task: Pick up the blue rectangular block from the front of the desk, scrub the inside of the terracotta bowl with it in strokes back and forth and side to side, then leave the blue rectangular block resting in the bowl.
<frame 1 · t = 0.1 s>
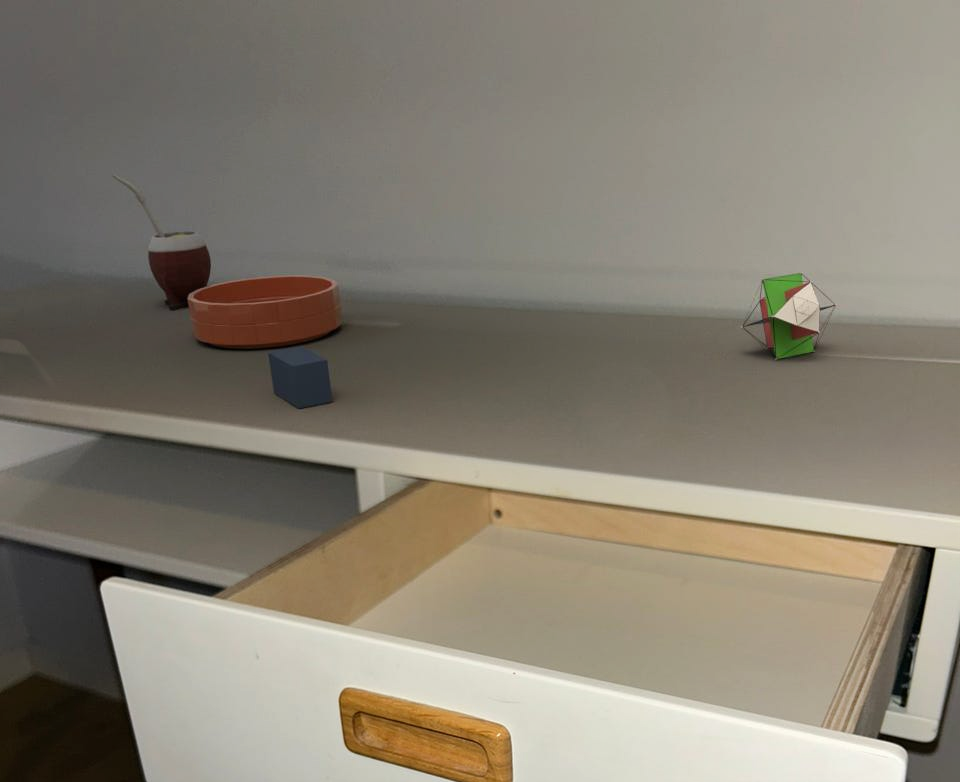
mate gourd: (184, 306, 129), on the table
bowl: (269, 333, 112), on the table
geometric puzzle: (785, 356, 93), on the table
blue rectangular block: (302, 397, 89), on the table
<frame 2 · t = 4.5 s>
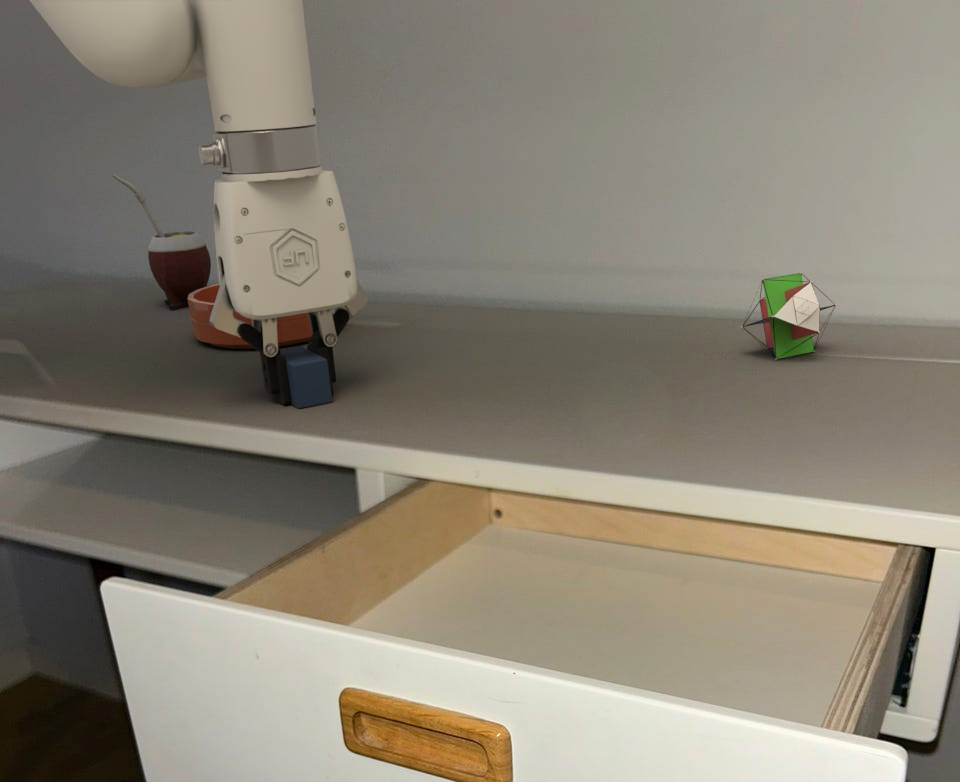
hand: (302, 395, 89), 0 cm above the table, tool pointing down, fingers closed on blue rectangular block, 3 cm apart
blue rectangular block: (302, 397, 89), on the table, touching gripper
everything else where it was.
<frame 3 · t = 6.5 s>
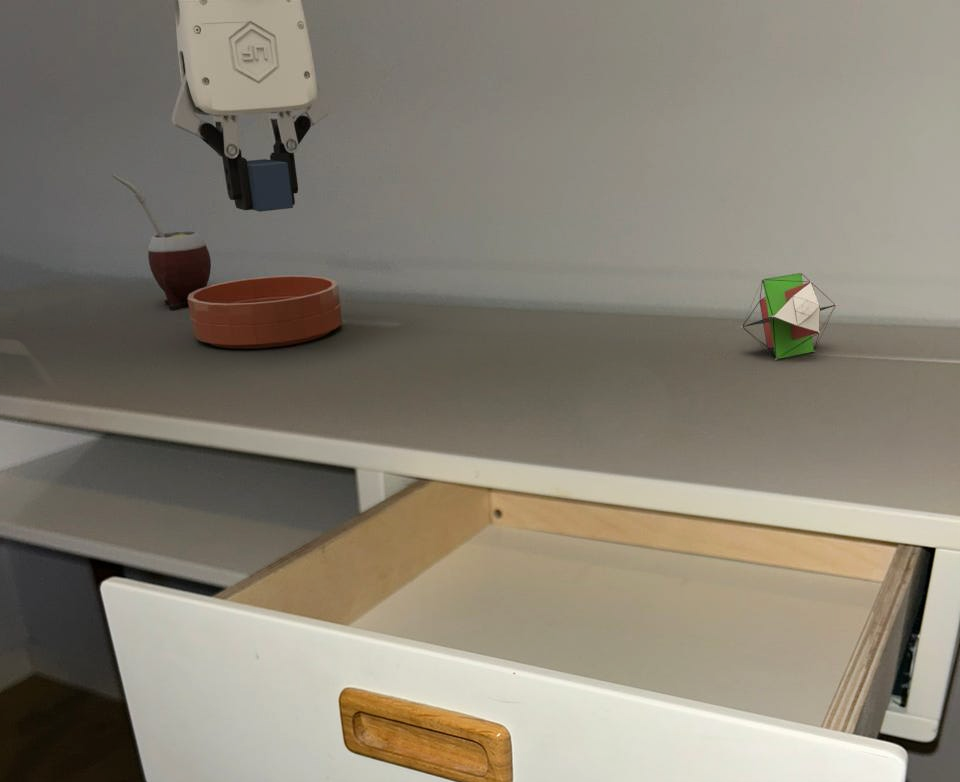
hand: (265, 204, 91), 14 cm above the table, tool pointing down, fingers closed on blue rectangular block, 3 cm apart
blue rectangular block: (265, 207, 91), point 14 cm above the table, touching gripper
everything else where it was.
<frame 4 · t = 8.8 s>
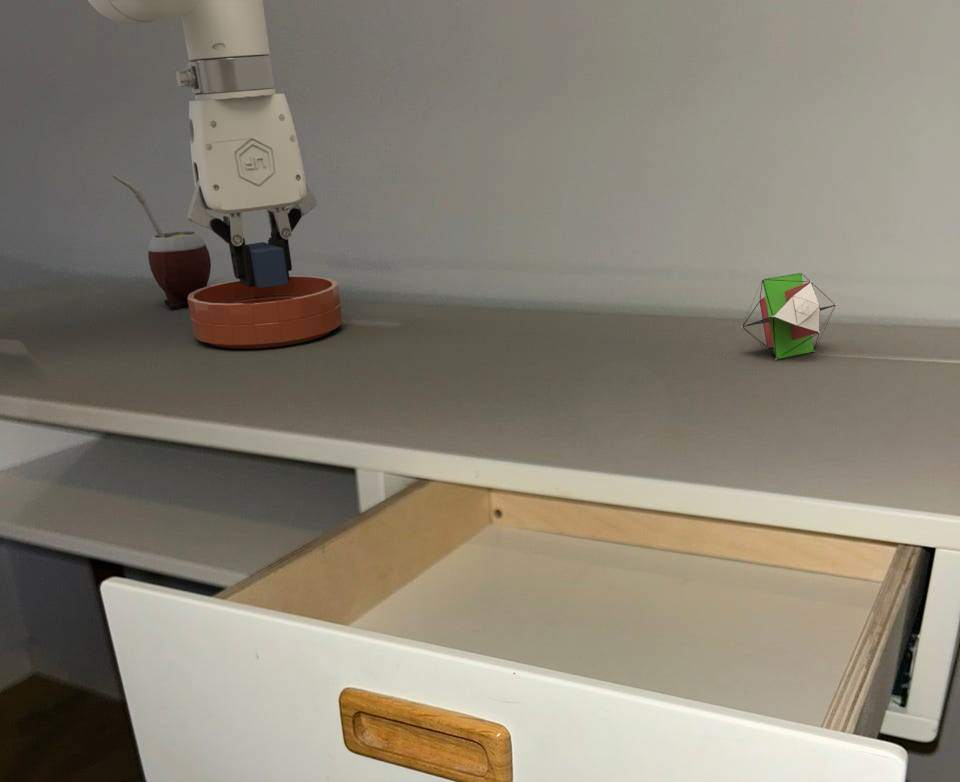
hand: (264, 280, 109), 5 cm above the table, tool pointing down, fingers closed on blue rectangular block, 3 cm apart
blue rectangular block: (265, 282, 109), point 5 cm above the table, touching gripper
everything else where it was.
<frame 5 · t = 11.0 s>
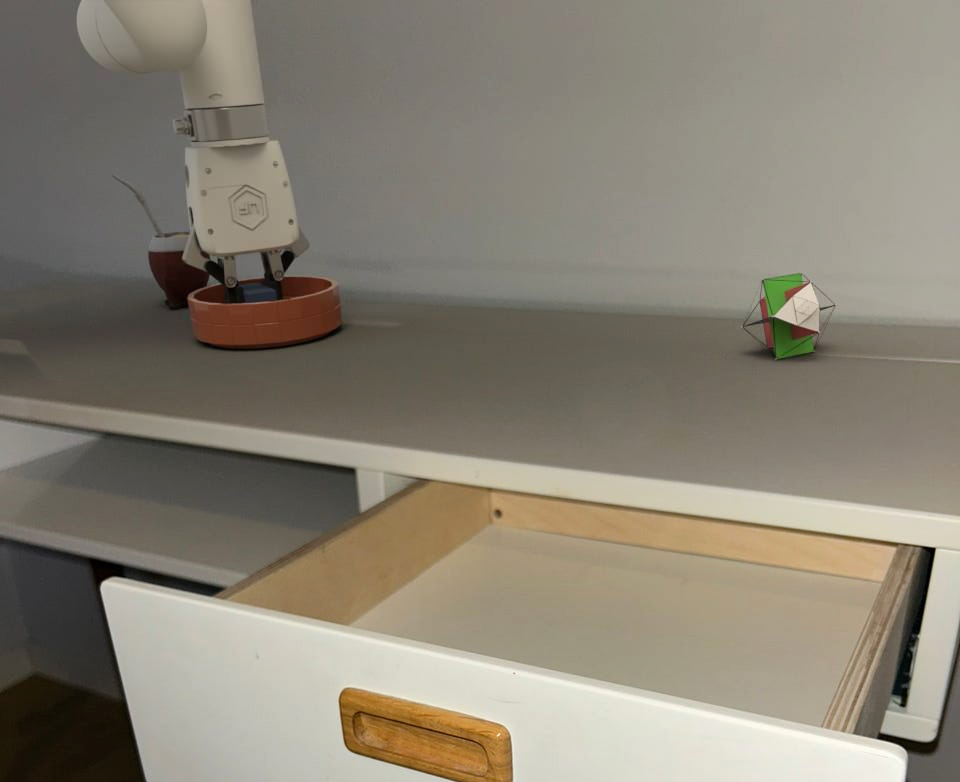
hand: (257, 320, 112), 1 cm above the table, tool pointing down, fingers closed on blue rectangular block, 3 cm apart
blue rectangular block: (257, 322, 112), point 1 cm above the table, touching gripper
everything else where it was.
when the fingers open (1 cm above the table, at t = 13.1 s): blue rectangular block stays where it is, resting on bowl.
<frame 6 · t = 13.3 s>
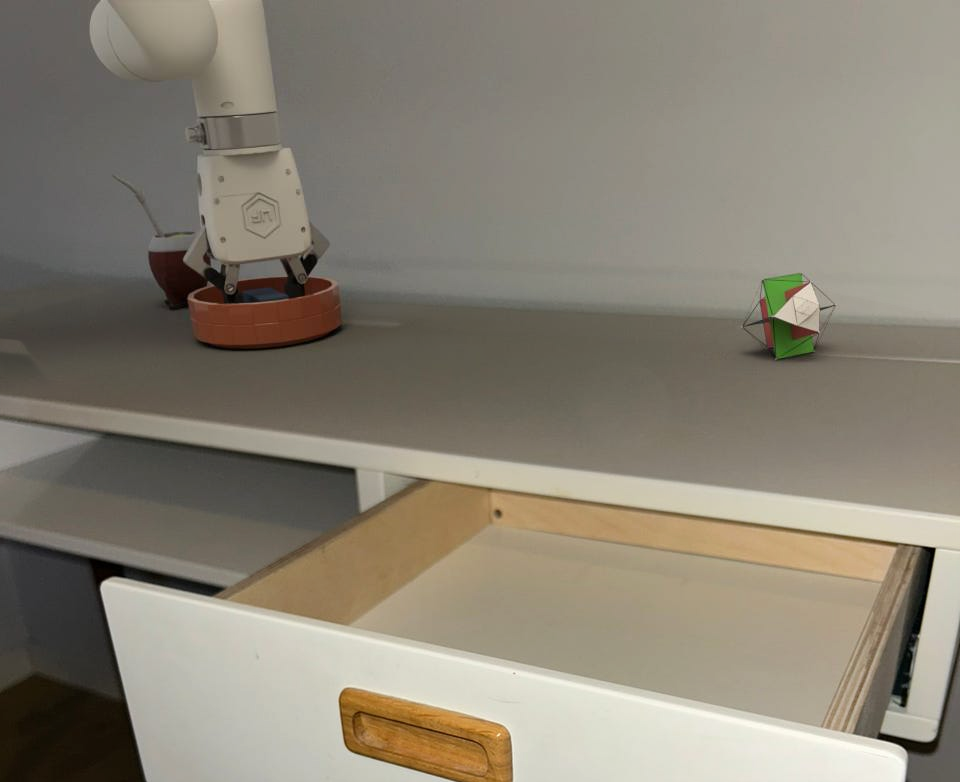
hand: (269, 325, 111), 1 cm above the table, tool pointing down, fingers open, 5 cm apart
blue rectangular block: (269, 327, 111), point 1 cm above the table, touching bowl
everything else where it was.
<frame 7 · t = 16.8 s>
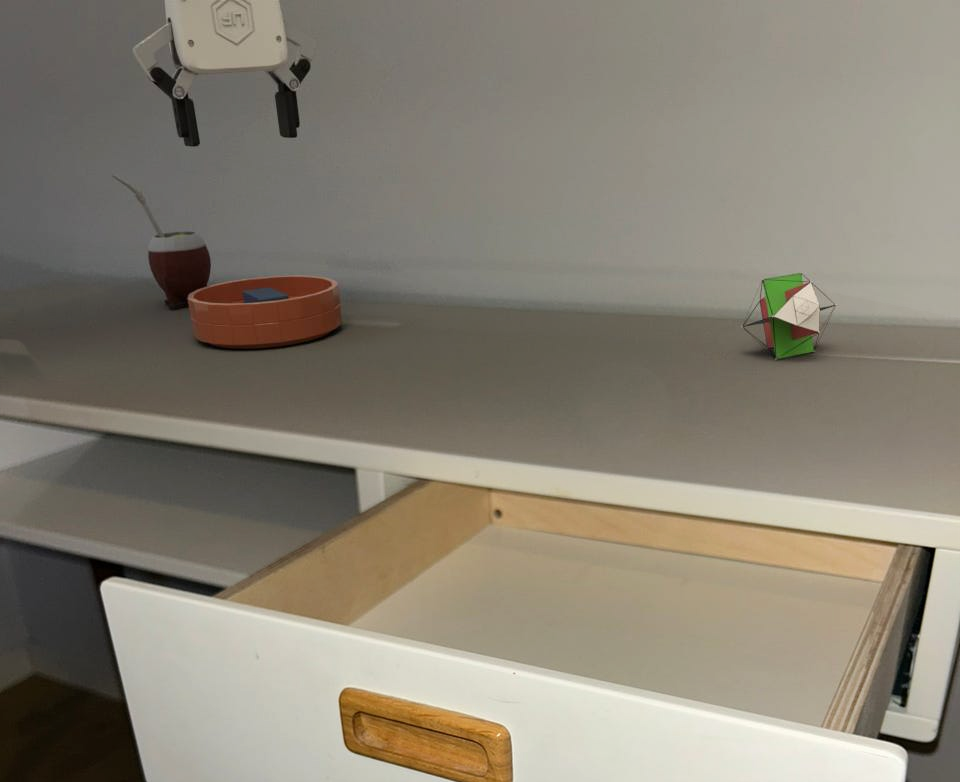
hand: (241, 141, 103), 18 cm above the table, tool pointing down, fingers open, 9 cm apart
nothing on the table moved.
at the end: blue rectangular block inside the target area in the bowl (0.1 cm from its centre), point 0.6 cm above the bowl's base; the gripper is holding nothing; blue rectangular block tilted 0° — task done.
